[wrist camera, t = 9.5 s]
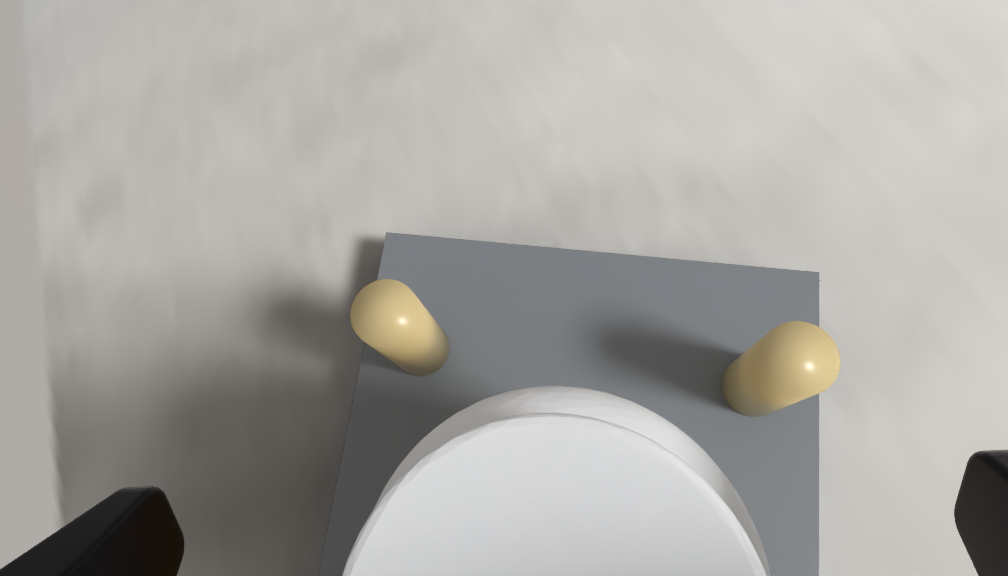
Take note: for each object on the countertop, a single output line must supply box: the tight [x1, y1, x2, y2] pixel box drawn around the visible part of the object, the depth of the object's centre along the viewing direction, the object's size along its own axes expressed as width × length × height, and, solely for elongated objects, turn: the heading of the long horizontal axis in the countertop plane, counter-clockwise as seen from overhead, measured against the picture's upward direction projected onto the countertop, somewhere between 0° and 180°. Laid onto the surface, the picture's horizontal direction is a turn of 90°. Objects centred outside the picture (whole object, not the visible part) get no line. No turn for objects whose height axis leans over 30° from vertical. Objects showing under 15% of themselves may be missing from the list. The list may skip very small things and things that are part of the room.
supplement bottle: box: [342, 386, 770, 576], centre depth 10 cm, size 5×5×10 cm
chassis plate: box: [318, 232, 840, 576], centre depth 14 cm, size 14×11×5 cm
